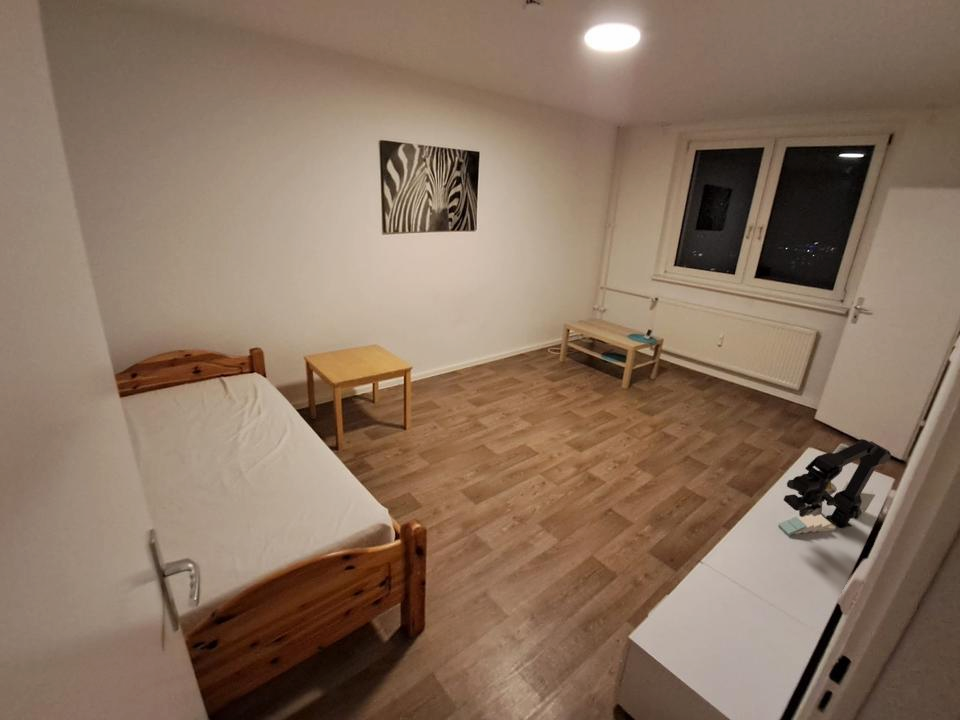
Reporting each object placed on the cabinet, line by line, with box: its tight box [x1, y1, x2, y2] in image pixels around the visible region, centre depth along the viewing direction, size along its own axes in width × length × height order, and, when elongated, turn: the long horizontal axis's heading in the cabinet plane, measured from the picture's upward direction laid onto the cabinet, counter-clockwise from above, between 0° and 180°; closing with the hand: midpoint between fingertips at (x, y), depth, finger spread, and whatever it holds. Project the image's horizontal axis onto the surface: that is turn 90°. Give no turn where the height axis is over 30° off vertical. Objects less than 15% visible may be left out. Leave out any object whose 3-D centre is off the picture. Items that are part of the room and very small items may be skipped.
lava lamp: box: [806, 443, 850, 516], centre depth 182 cm, size 9×9×35 cm
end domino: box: [817, 517, 837, 533], centre depth 181 cm, size 2×5×8 cm
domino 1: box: [778, 516, 807, 537], centre depth 177 cm, size 2×5×8 cm
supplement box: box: [841, 481, 876, 518], centre depth 190 cm, size 7×7×13 cm
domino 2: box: [794, 516, 814, 535], centre depth 178 cm, size 2×5×8 cm
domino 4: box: [810, 514, 832, 533], centre depth 180 cm, size 2×5×8 cm
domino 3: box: [802, 514, 822, 534], centre depth 179 cm, size 2×5×8 cm
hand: (801, 516), depth 173 cm, fingers closed
